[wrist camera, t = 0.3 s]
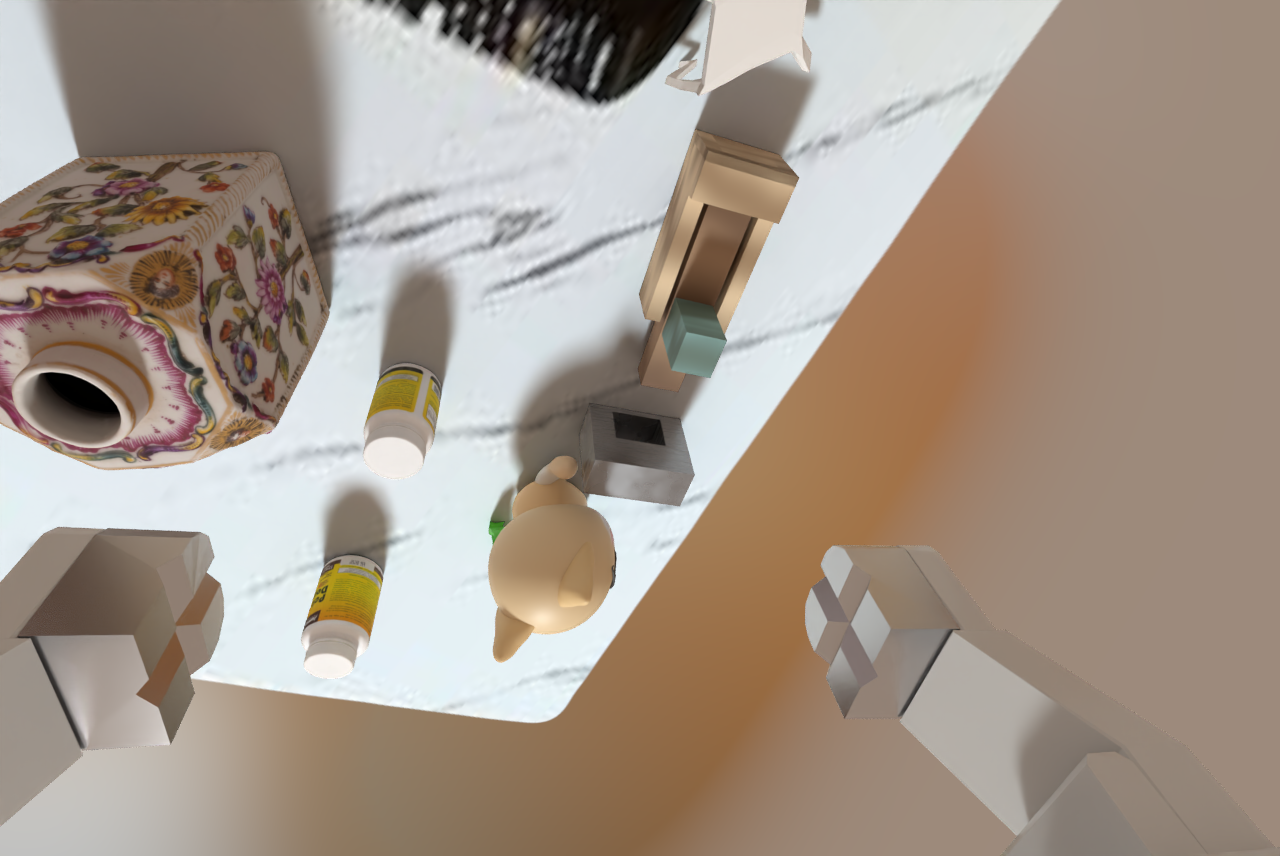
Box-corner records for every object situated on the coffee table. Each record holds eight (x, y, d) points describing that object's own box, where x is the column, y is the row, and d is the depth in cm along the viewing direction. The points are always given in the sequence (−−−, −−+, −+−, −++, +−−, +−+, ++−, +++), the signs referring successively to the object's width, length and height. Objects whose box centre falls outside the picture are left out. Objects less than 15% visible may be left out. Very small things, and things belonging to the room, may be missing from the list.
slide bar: (711, 166, 43) (735, 206, 38) (753, 178, 44) (782, 219, 39) (637, 368, 53) (648, 423, 47) (673, 375, 53) (688, 430, 48)
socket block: (589, 403, 56) (595, 459, 50) (680, 419, 58) (694, 475, 52) (579, 435, 58) (583, 492, 52) (666, 449, 60) (679, 506, 54)
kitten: (533, 562, 67) (533, 704, 56) (451, 517, 62) (431, 663, 51) (643, 479, 62) (667, 618, 50) (563, 422, 57) (569, 562, 45)
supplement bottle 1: (330, 546, 63) (301, 642, 55) (391, 560, 65) (371, 654, 57) (316, 581, 65) (286, 678, 58) (375, 594, 68) (353, 688, 60)
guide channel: (695, 128, 43) (708, 150, 40) (779, 154, 45) (799, 177, 41) (639, 294, 50) (646, 324, 46) (713, 311, 51) (725, 341, 48)
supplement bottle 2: (365, 388, 52) (341, 460, 46) (402, 350, 51) (382, 419, 44) (418, 420, 55) (402, 493, 48) (455, 385, 53) (443, 456, 47)
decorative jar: (335, 316, 48) (254, 494, 34) (163, 325, 47) (7, 513, 33) (279, 142, 41) (146, 279, 27) (72, 148, 40) (-179, 295, 26)
